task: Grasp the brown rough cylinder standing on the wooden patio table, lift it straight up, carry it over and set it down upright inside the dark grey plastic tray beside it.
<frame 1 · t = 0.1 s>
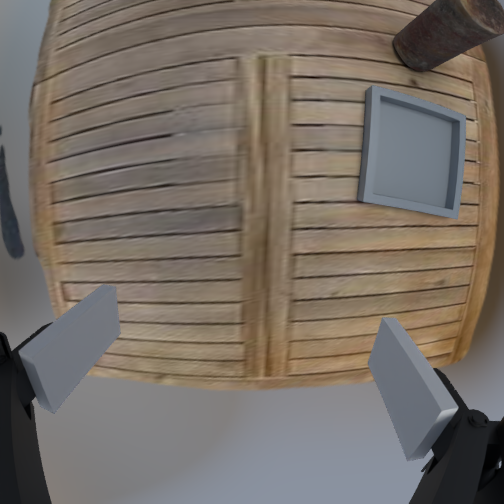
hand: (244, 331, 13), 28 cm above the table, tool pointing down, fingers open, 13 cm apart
tray: (412, 154, 36), on the table
brown rough cylinder: (412, 53, 32), on the table
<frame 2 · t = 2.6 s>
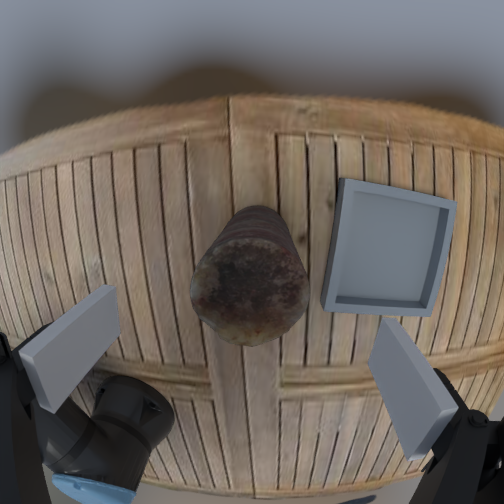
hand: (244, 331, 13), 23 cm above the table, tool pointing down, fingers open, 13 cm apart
tray: (387, 249, 35), on the table
brown rough cylinder: (258, 233, 36), on the table
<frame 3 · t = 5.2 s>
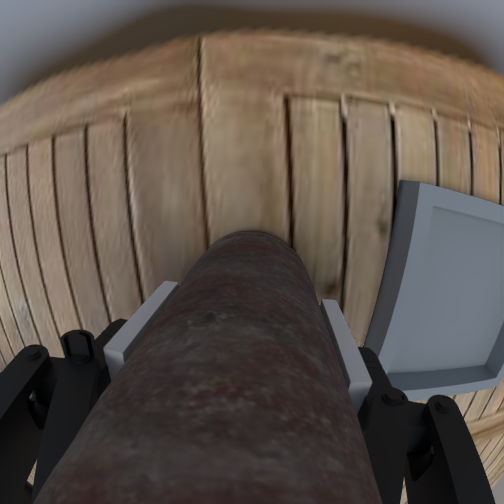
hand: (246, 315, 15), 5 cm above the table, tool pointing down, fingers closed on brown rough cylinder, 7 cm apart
tray: (460, 298, 19), on the table
brown rough cylinder: (253, 279, 20), on the table, touching gripper
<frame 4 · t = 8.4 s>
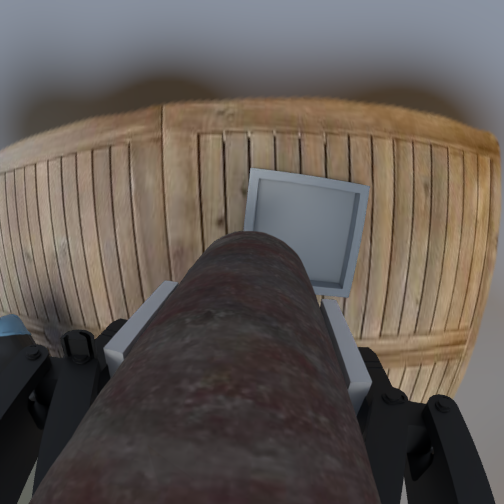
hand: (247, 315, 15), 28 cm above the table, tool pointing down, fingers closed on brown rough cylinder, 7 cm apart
tray: (301, 231, 41), on the table
brown rough cylinder: (253, 278, 20), point 22 cm above the table, touching gripper
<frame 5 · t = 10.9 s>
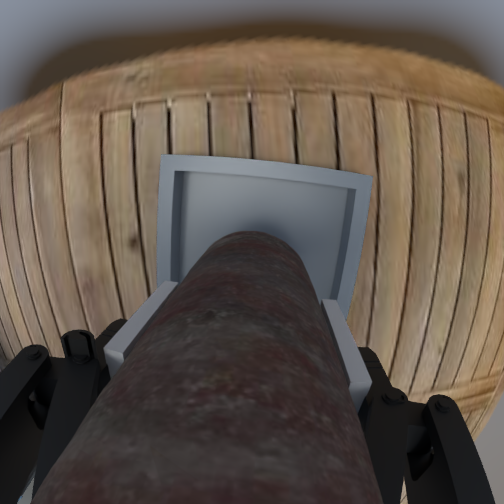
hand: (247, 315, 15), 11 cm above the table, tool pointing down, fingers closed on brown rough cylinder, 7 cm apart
tray: (257, 256, 25), on the table
brown rough cylinder: (253, 278, 20), point 6 cm above the table, touching gripper
when the fingers open (7 cm above the table, at t = 12.1 s): brown rough cylinder drops 1 cm, resting on tray.
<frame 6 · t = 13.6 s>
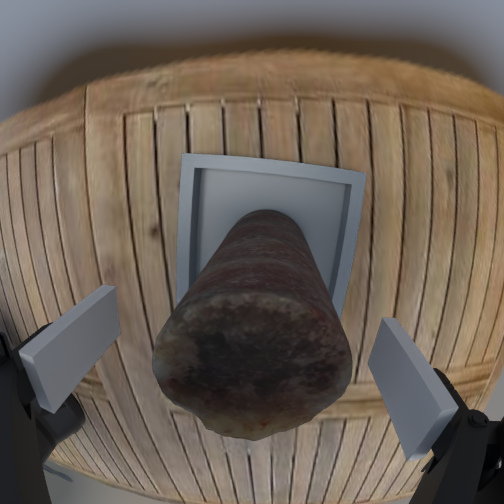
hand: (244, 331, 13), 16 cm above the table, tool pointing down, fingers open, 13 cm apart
tray: (266, 243, 29), on the table
brown rough cylinder: (267, 244, 28), resting on tray
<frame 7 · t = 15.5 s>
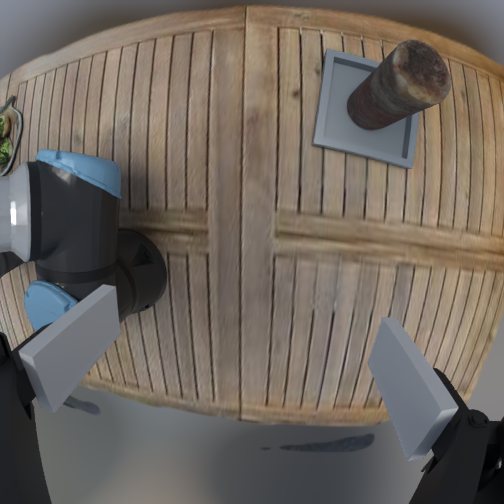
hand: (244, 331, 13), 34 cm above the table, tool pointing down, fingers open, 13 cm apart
tray: (367, 109, 40), on the table
brown rough cylinder: (368, 109, 39), resting on tray
salad plate: (4, 141, 47), on the table
beverage cup: (25, 250, 53), on the table
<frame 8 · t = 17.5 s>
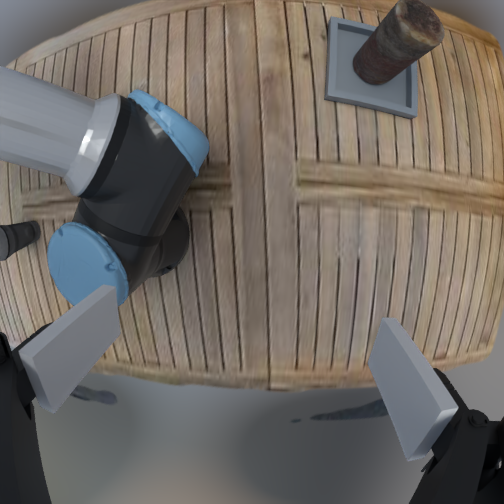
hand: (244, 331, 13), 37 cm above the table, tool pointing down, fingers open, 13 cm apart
tray: (370, 68, 40), on the table
brown rough cylinder: (372, 67, 40), resting on tray
beverage cup: (35, 230, 53), on the table
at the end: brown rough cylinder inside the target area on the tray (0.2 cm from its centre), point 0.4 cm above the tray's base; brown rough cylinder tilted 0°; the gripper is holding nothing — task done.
